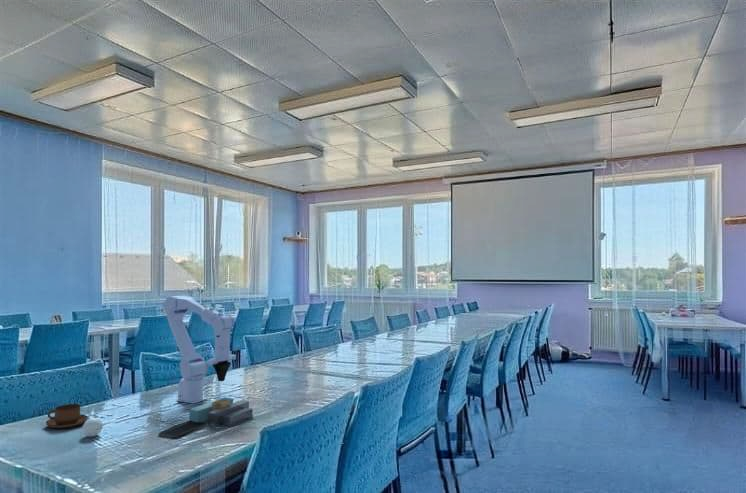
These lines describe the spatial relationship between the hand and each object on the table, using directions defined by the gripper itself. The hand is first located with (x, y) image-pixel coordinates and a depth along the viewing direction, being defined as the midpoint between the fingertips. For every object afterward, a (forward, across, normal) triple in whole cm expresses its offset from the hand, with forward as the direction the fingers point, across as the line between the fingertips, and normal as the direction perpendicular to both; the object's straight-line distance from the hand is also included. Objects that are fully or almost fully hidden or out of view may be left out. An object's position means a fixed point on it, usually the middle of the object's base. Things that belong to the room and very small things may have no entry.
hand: (221, 380), depth 190 cm
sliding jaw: (+9, -13, -7) cm, 18 cm away
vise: (+9, -13, -18) cm, 24 cm away
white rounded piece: (+10, -45, +11) cm, 47 cm away
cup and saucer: (+10, -42, +29) cm, 52 cm away
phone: (+10, -29, -10) cm, 32 cm away
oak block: (+10, -13, -12) cm, 20 cm away
